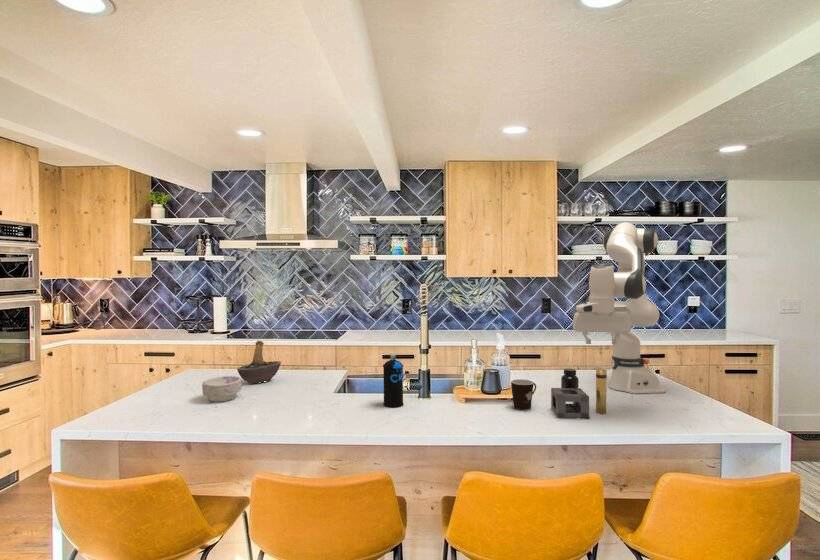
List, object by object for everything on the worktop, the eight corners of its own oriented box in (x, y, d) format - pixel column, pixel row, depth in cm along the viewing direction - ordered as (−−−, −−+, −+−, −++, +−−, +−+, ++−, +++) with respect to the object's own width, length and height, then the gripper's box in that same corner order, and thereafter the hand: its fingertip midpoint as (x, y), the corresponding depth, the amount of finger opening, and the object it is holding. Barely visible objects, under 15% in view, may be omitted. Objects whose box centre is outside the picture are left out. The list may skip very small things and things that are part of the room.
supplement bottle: (579, 401, 181) (579, 371, 181) (562, 400, 183) (562, 371, 182) (576, 396, 188) (577, 368, 188) (560, 395, 190) (560, 367, 189)
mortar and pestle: (282, 379, 221) (282, 338, 220) (264, 387, 204) (263, 344, 204) (255, 377, 224) (255, 337, 223) (235, 386, 208) (234, 343, 207)
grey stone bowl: (194, 402, 182) (193, 383, 182) (219, 392, 197) (219, 374, 197) (225, 405, 178) (225, 385, 178) (249, 395, 193) (248, 376, 193)
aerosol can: (378, 404, 178) (378, 355, 177) (393, 400, 184) (393, 352, 183) (393, 409, 172) (393, 357, 172) (407, 404, 178) (407, 354, 178)
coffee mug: (516, 411, 168) (516, 385, 168) (507, 404, 177) (507, 379, 177) (544, 410, 170) (544, 384, 170) (535, 403, 179) (535, 378, 179)
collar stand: (580, 409, 171) (580, 388, 171) (589, 418, 160) (589, 396, 160) (551, 408, 172) (551, 387, 172) (557, 417, 161) (557, 395, 161)
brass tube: (604, 411, 169) (604, 369, 168) (607, 414, 165) (608, 371, 164) (594, 410, 169) (594, 368, 168) (597, 414, 165) (597, 371, 165)
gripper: (627, 306, 168) (627, 343, 168) (571, 306, 170) (571, 342, 170) (634, 307, 162) (633, 345, 162) (576, 307, 164) (575, 344, 164)
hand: (601, 343), depth 166 cm, fingers open, 8 cm apart
